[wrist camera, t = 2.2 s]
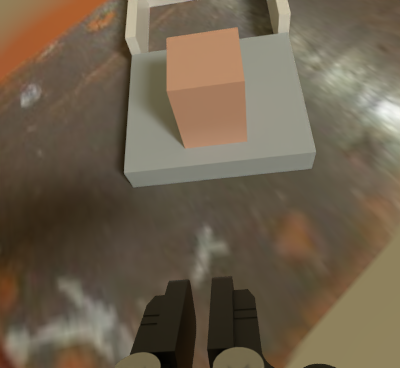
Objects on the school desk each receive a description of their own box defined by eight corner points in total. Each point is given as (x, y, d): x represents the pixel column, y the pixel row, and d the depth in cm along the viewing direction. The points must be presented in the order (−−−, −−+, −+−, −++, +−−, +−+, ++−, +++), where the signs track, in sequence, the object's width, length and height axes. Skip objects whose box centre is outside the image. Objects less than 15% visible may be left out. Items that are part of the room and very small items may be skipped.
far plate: (133, 187, 37) (123, 173, 34) (139, 73, 44) (131, 54, 41) (311, 168, 35) (316, 151, 32) (286, 53, 42) (287, 32, 40)
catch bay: (138, 70, 44) (125, 38, 40) (141, 4, 51) (130, -31, 46) (287, 50, 42) (290, 13, 38) (272, -17, 49) (273, -56, 44)
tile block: (185, 148, 34) (166, 91, 27) (183, 100, 37) (166, 37, 30) (247, 141, 34) (244, 80, 27) (241, 93, 36) (237, 27, 29)
